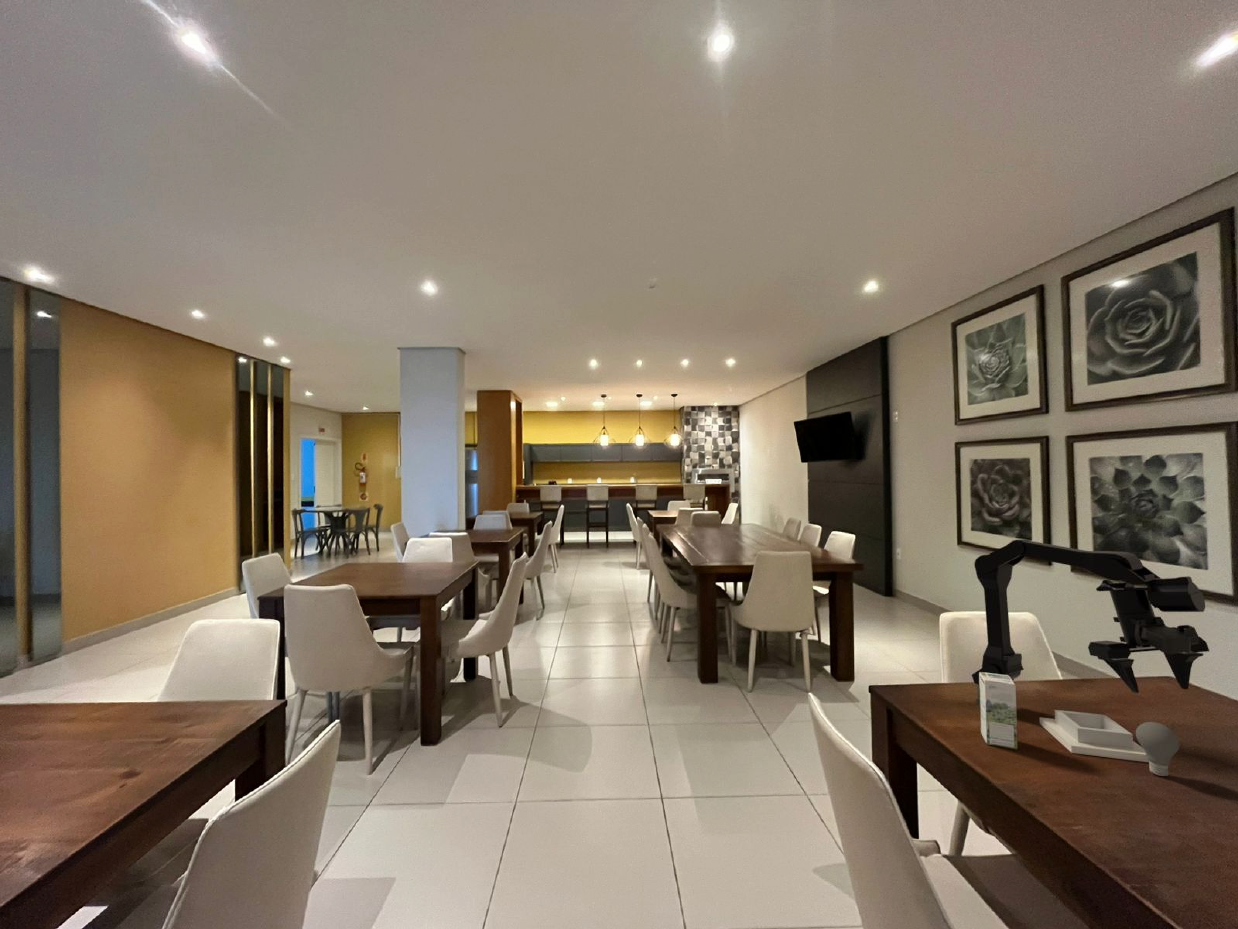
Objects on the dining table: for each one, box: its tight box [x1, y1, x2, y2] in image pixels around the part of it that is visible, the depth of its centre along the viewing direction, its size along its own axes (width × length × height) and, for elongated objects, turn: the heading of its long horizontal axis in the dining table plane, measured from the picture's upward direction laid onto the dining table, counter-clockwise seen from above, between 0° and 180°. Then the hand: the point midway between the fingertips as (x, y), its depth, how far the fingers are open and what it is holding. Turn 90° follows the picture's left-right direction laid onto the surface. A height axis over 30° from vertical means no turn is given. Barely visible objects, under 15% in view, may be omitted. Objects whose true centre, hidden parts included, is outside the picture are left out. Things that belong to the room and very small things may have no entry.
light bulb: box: [1135, 721, 1180, 777], centre depth 101 cm, size 6×6×10 cm
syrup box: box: [979, 672, 1018, 750], centre depth 115 cm, size 6×6×14 cm
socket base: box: [1039, 709, 1149, 763], centre depth 114 cm, size 14×14×4 cm
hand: (1160, 690), depth 104 cm, fingers open, 9 cm apart
